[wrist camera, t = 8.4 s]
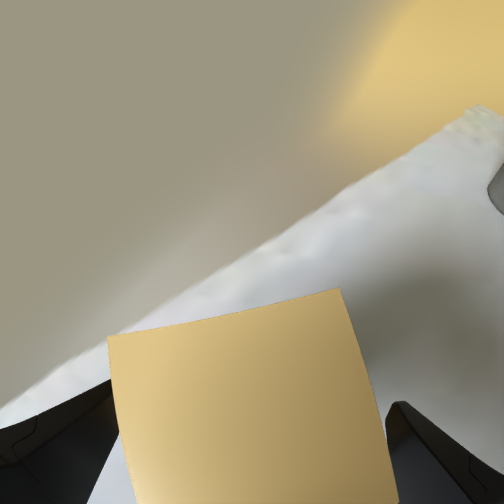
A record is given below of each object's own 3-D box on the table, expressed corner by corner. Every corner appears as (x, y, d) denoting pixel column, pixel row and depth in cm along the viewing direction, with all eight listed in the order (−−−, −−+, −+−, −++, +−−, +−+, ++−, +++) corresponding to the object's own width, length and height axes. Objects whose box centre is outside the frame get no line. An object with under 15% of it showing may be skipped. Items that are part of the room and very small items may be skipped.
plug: (299, 432, 15) (402, 503, 3) (232, 447, 15) (153, 552, 2) (282, 372, 17) (340, 283, 5) (217, 386, 17) (104, 334, 4)
